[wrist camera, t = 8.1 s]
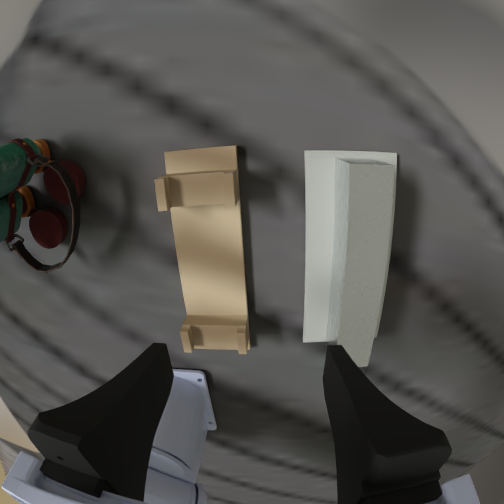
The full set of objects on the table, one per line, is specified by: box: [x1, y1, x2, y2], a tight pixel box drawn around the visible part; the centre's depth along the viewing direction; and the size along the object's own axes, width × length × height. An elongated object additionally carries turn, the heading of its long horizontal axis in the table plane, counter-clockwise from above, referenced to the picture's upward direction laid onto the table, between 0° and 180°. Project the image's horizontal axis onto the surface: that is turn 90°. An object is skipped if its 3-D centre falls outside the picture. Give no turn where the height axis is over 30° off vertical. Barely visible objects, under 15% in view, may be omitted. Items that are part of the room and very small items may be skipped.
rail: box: [326, 157, 394, 367], centre depth 19 cm, size 14×3×4 cm, turn 3°
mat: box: [303, 150, 397, 342], centre depth 22 cm, size 15×6×1 cm, turn 3°
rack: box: [154, 145, 250, 354], centre depth 21 cm, size 16×5×3 cm, turn 3°
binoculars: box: [0, 138, 86, 273], centre depth 17 cm, size 9×11×10 cm
